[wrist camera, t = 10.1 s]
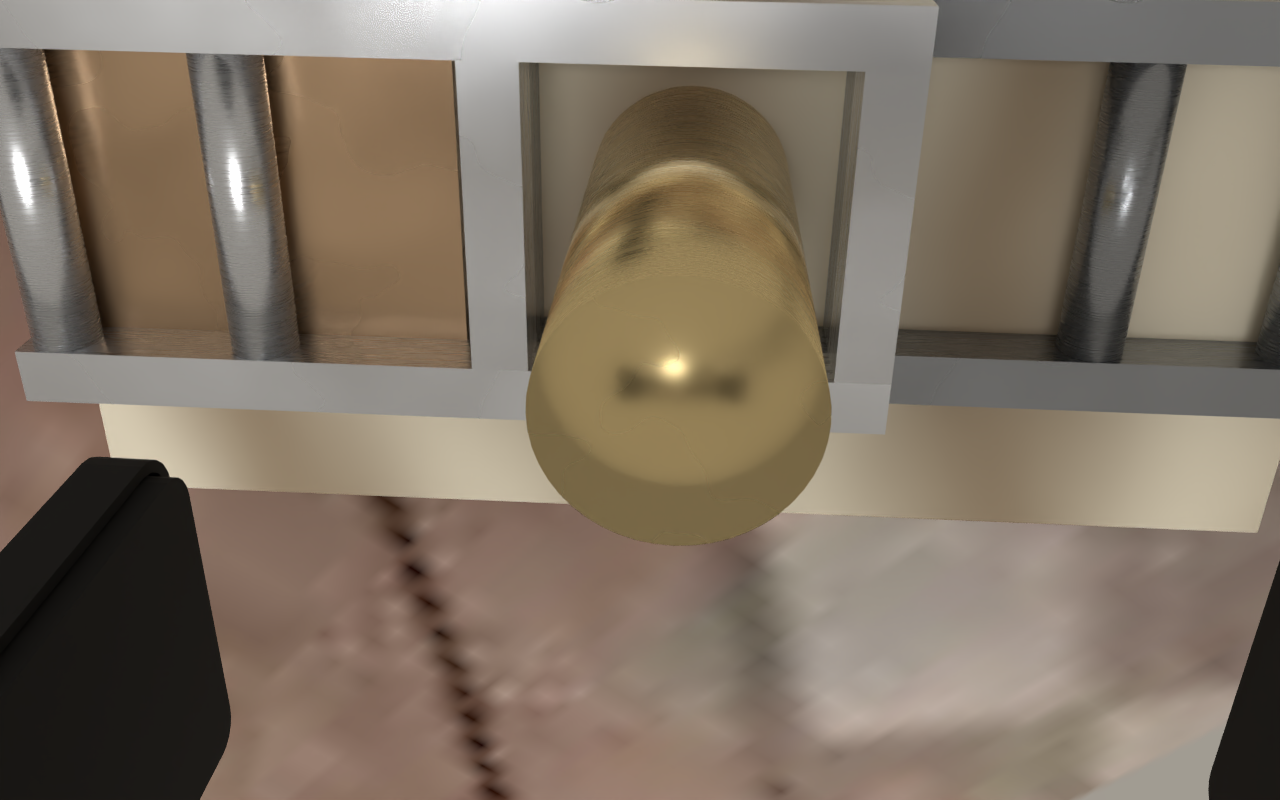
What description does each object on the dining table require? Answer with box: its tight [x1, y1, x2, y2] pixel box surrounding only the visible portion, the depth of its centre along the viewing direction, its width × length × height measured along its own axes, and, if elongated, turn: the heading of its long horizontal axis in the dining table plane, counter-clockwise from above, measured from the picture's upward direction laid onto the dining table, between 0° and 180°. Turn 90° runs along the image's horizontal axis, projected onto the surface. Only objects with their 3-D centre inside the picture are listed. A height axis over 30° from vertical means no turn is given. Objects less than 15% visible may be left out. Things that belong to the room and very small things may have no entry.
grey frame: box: [529, 0, 1280, 419], centre depth 22 cm, size 16×7×1 cm, turn 89°
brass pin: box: [525, 86, 832, 546], centre depth 18 cm, size 4×4×9 cm
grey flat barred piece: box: [0, 0, 939, 435], centre depth 21 cm, size 16×8×2 cm, turn 89°
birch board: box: [99, 57, 1280, 533], centre depth 23 cm, size 24×14×1 cm, turn 89°
